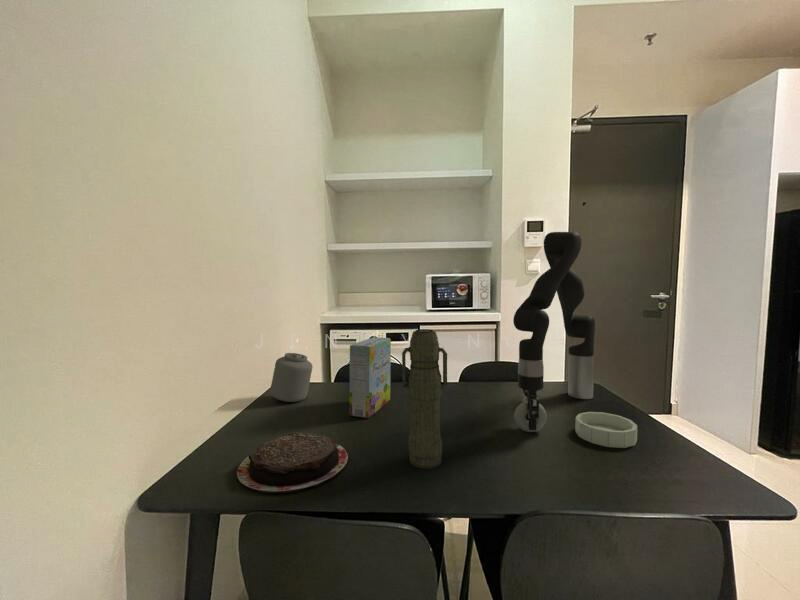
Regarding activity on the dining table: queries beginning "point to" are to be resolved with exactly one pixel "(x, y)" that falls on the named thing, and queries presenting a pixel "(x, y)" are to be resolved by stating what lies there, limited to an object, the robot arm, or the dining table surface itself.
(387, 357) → the snack box
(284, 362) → the jar
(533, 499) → the dining table surface
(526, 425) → the donut
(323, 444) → the chocolate cake
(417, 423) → the thermos
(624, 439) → the bowl
